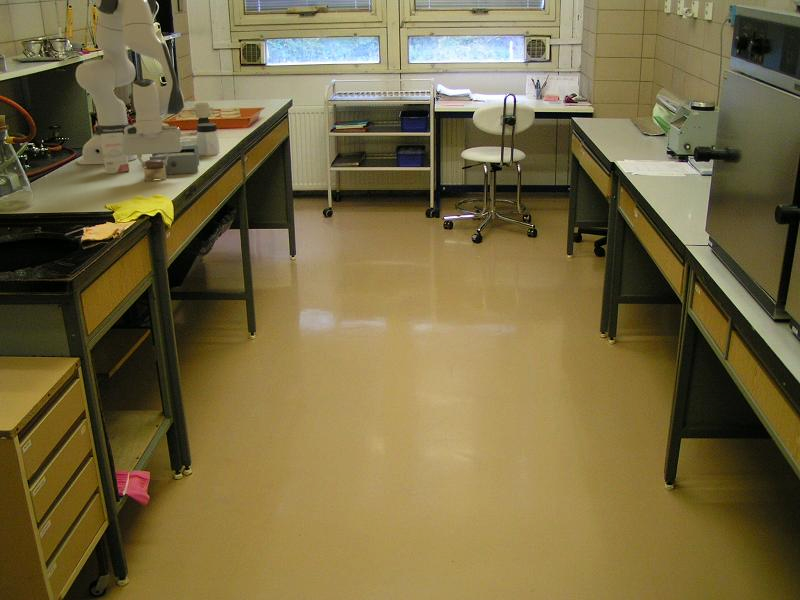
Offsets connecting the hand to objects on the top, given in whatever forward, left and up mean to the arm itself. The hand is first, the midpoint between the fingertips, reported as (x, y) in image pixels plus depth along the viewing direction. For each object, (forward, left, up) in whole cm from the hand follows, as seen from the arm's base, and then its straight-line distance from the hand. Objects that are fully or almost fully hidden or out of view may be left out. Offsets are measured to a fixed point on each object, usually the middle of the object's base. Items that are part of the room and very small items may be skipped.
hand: (154, 166), depth 306 cm
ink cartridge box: (-15, +18, -5) cm, 24 cm away
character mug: (+17, +104, -5) cm, 105 cm away
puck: (0, 0, 0) cm, 0 cm away
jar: (+19, +43, -5) cm, 47 cm away
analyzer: (+6, +29, -4) cm, 30 cm away
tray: (+7, +13, -4) cm, 15 cm away
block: (0, 0, -4) cm, 5 cm away
